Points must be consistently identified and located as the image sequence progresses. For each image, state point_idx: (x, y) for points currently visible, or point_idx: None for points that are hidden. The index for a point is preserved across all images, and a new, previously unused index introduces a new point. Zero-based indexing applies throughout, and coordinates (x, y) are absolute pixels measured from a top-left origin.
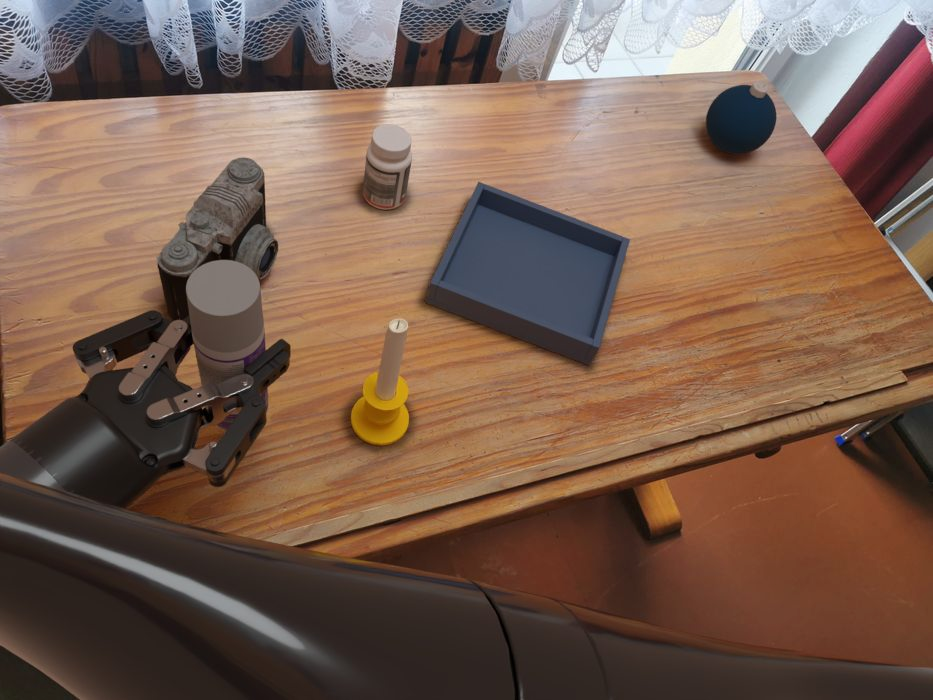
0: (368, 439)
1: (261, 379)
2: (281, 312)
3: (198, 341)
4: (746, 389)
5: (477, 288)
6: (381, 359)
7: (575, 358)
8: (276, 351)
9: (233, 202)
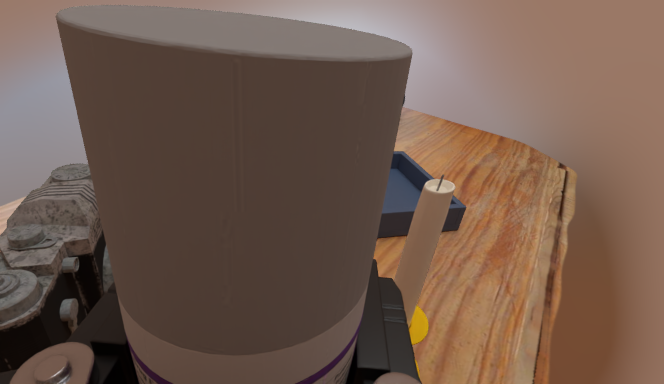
0: None
1: (412, 367)
2: None
3: (201, 347)
4: (531, 202)
5: None
6: (408, 264)
7: (447, 228)
8: (374, 281)
9: (76, 194)
